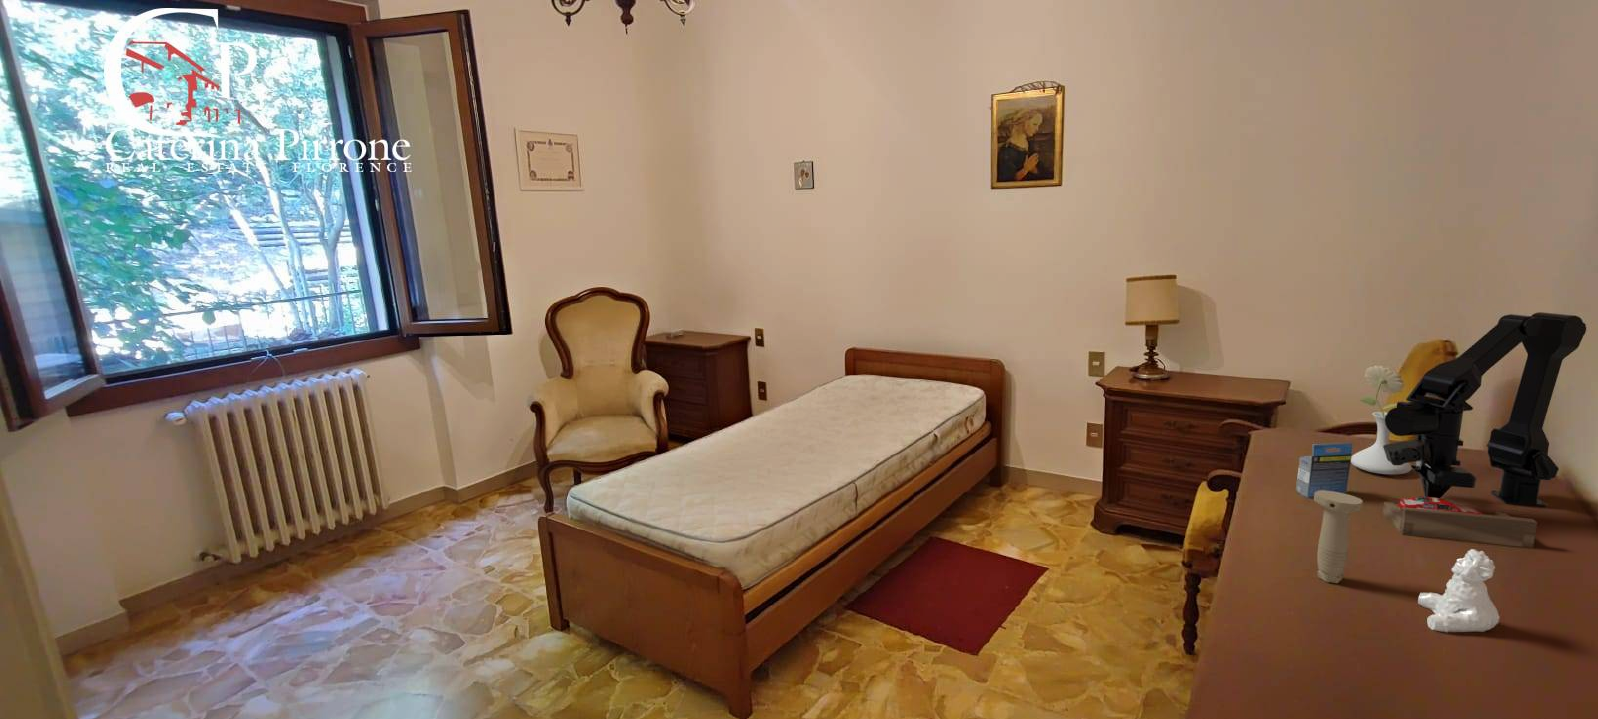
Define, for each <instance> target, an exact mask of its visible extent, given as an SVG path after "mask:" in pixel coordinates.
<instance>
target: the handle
mask: <svg viewBox="0 0 1598 719" xmlns="http://www.w3.org/2000/svg"><path fill="white" fill-rule="evenodd" d="M1313 500H1314V502H1315V503H1317V504H1318V505H1319V506H1320V507H1322V508H1323V517H1322V522H1321V528H1320V533H1319V540H1318V546H1317V557H1316V558H1317V568H1318V570H1317V577H1318V579H1321V580H1323V582H1325V583H1333V584H1339V582H1341V581H1342V579H1343V577H1344V576H1343V573H1344V571H1345V568H1346V564H1347V559H1348V558H1347V557H1348V547H1349V546H1348V541H1349V518H1350V515H1351V514H1350V513H1355V512H1358V511H1360V510H1361V509H1362V507H1363V500H1362V499H1361V498H1360V497H1357V496H1354V495H1351V494H1348V493H1346V494H1344V493H1339V492H1334V491H1325V490H1320V491H1316V492H1315V493H1314V497H1313Z"/></svg>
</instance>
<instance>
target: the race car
mask: <svg viewBox="0 0 1598 719" xmlns="http://www.w3.org/2000/svg"><path fill="white" fill-rule="evenodd" d="M1397 507H1398V508H1399V509H1400V510H1401V511H1402V507H1406V508H1417V509H1428V510H1439V511H1450V512H1461V513H1472V514H1483V513H1482V512H1481V511H1480V510H1478V509H1475V508H1472V507H1469V506H1466V505H1462V504H1457V503H1453V502H1451V501H1449V500H1446V499H1444V498H1442V497H1441V498H1436V497H1425V496H1415V497H1408V498H1401V499H1399V503H1397Z"/></svg>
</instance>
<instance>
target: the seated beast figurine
mask: <svg viewBox="0 0 1598 719" xmlns="http://www.w3.org/2000/svg"><path fill="white" fill-rule="evenodd" d="M1495 569H1496V566H1495V565H1494V561H1493V560H1491V559H1490V558H1489V556H1488V555H1486V553H1485V552H1484V551H1483V550H1479V551H1478V550H1477V549H1473V548H1470V550H1467V552H1466V553H1465V554H1464V557H1463V558H1457V559H1456V562H1455V564H1454V565H1453V567H1451V571H1452V573H1453V575H1452V576H1451V579H1448V582H1447V583H1446V584H1445V585H1446V589H1445V591H1444V593H1443V594H1439V593H1436V592H1420V593H1419V596H1418V599H1417V604H1418V605H1419V606H1420V607H1422V608H1426V609H1428V610H1432V612H1433V613H1434V614H1431V615H1429V616H1427V621H1426V622H1427V623H1426V624H1427V626H1428V628H1429V629H1431V630H1432V631H1436V632H1443V633H1446V634H1447V633H1473V632H1477V633H1478V632H1479V633H1483V632H1486V631H1489V630H1492V628H1495V627H1496V625H1498V624H1499V621H1500V618H1501V616H1500V615H1499V612H1498V609H1497V607H1496V606H1495V604H1494V603H1493V601H1492V600H1491V598H1490V595H1489V594H1488V588H1487V587H1488V586H1487V585H1486V584H1485V581H1487V580H1488V579H1492V578H1493V576H1494V571H1495Z"/></svg>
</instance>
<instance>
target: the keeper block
mask: <svg viewBox="0 0 1598 719" xmlns="http://www.w3.org/2000/svg"><path fill="white" fill-rule="evenodd" d="M1382 514H1383V516H1384V517H1385V518H1386V519H1388V521H1389V522H1390V523H1391V524H1392V525H1393V527H1395V528H1396V529H1397V530H1398V531H1399V533H1400V534H1401V535H1404V536H1415V537H1423V538H1432V539H1442V540H1453V541H1462V542H1472V543H1480V544H1482V543H1483V544H1490V545H1501V546H1510V547H1511V546H1512V547H1518V548H1519V547H1521V548H1530V549H1533V548H1534V546H1535V545H1534V544H1535V538H1536V532H1537V527H1538V521H1536V520H1535V519H1533V518H1527V517H1526V518H1525V517H1515V516H1510V515H1509V514H1507V513H1506V512H1501V511H1495V512H1494V515H1492V514H1483V513H1482V514H1472V513H1461V512H1450V511H1439V510H1428V509H1417V508H1406V507H1402V511H1401V510H1400V509H1399V508H1398V505H1396V504H1395V503H1394V502H1390V501H1389V502H1388V501H1384V502H1383V508H1382Z"/></svg>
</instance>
